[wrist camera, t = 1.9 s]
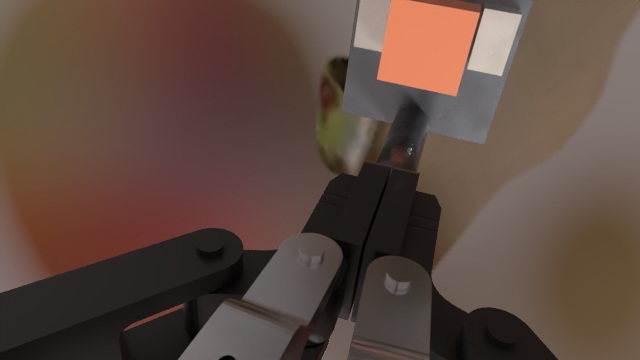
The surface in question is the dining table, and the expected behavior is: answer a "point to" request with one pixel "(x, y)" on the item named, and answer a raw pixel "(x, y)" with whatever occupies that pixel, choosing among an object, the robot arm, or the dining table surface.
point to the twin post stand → (427, 106)
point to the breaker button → (428, 43)
